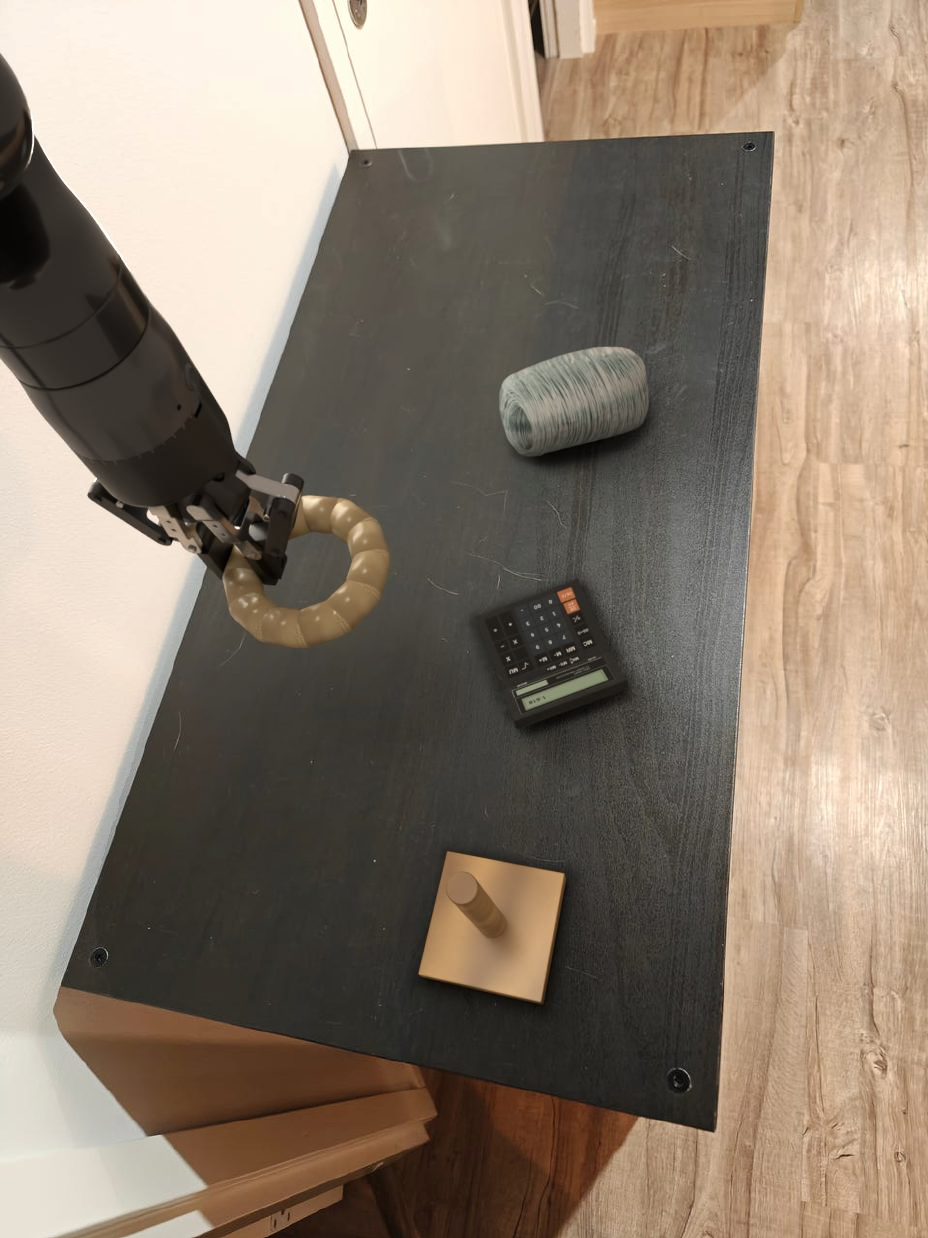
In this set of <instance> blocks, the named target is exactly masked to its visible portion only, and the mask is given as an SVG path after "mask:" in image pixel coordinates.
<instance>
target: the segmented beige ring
mask: <svg viewBox="0 0 928 1238" xmlns="http://www.w3.org/2000/svg"><path fill="white" fill-rule="evenodd" d="M250 527H251V525H250ZM249 529H250V528H249ZM310 533H320V534H327V535H328V534H329V535H334V536H336V537H337V538H338V539H340V540H341V541H342V542H344V543H345V544H346V545H347V548H348V551H349V554H350V557H351V563H350V567H349V570H348V572H347V576H346V579H345V581H344V582H343V583H342V584H341V585H340V586H339V588H337V589H336V590H335V592H333V593H332V594H331V595H330V596H329V597H328V598H327V599H326V600H324V601H321V602H317V603H315V604H313V605H309V606H307V607H304V608H302V609H301V608H292V607H284V606H279V605H277V603H275V602H274V601H273V600H271V599H270V598H269V597H268V596H266V592H265V588H264V584H263V583H262V580H261V579H260V578H259V577H258V576H257V575H256V573H255V572H254V571H253V569H252V568H251V567H250V565H249V564H248V562H247V561H246V560H245V555H243V554H242V552H241V551H240V550H239V549H238V548H237V547H236V546H235V545H234V546H233V549H232V551H231V554H230V557H229V559H228V562H227V565H226V567H225V570H224V573H223V580H222V582H223V583H222V584H223V587H224V592H225V596H226V603H227V606H228V611H229V613H230V616H231V617H232V618H233V619H234V621H235V622H237V623H238V624H239V625H240V626H241V627H242V628H244V629H245V630H246V631H247V632H248V633H250V635H251V636H252V637H254V638H255V639H256V640H258V641H259V642H260V643H263V644H266V645H271V646H279V647H287V648H294V649H305V650H306V649H310V648H312V647H315V646H318V645H321V644H324V643H326V642H330V641H332V640H336V639H337V638H340V637H343V636H345V635H347V634H349V633H350V632H352V631H353V630H354V629H355V628H356V627H357V626H358V625H359V624H360V623H361V622H362V620H364V619H365V618H366V617H367V615H369V613H371V611H372V610H373V609H375V607H377V605H378V604H379V602H380V601H381V599H382V596H383V592H384V589H385V586H386V583H387V580H388V576H389V573H390V569H391V566H392V557H391V554H390V550H389V547H388V544H387V541H386V537H385V535H384V532H383V529H382V526H381V524H380V522H379V521H378V519H376V518H375V517H373V516H372V515H371V514H370V513H368V512H366V511H365V510H364V509H362V508H361V507H359V506H358V505H357V504H356V503H354V502H353V501H351V500H349V499H347V498H343V497H334V496H323V495H312V494H311V495H310V494H308V495H302V496H301V500H300V505H299V509H298V514H297V519H296V523H295V525H294V528H293V529H292V532H291V535H290V538H289V541H290V540H294V539H296V538H299V537H302V536H304V535H307V534H310Z"/></svg>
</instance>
